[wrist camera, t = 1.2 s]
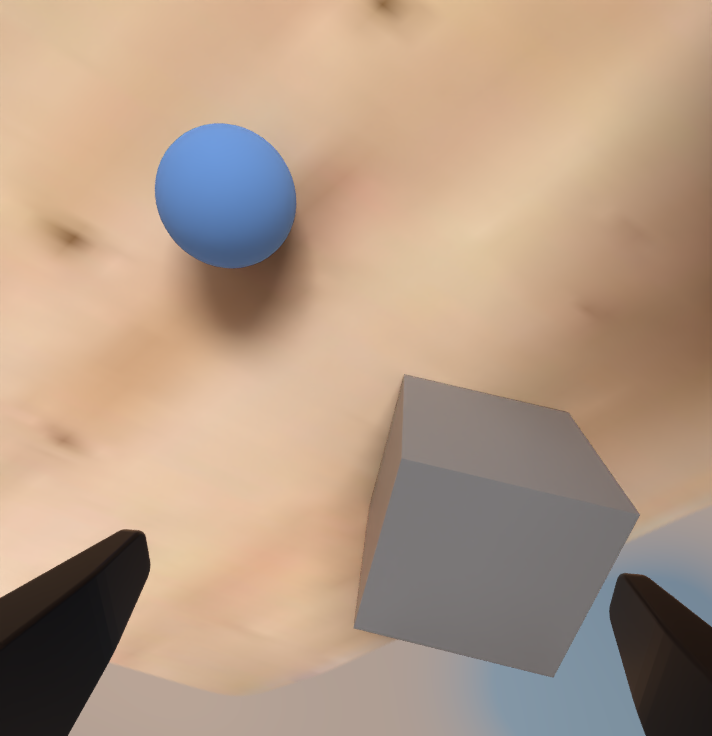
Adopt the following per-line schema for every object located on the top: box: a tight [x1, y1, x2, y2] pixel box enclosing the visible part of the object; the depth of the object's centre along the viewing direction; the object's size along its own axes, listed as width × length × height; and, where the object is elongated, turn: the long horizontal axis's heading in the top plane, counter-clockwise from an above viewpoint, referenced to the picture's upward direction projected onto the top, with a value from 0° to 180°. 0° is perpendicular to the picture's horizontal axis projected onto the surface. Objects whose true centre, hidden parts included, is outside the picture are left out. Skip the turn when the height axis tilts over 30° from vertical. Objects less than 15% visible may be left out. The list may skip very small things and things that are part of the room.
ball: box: [155, 124, 296, 268], centre depth 18 cm, size 5×5×5 cm
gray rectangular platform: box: [354, 374, 640, 677], centre depth 20 cm, size 8×8×7 cm
